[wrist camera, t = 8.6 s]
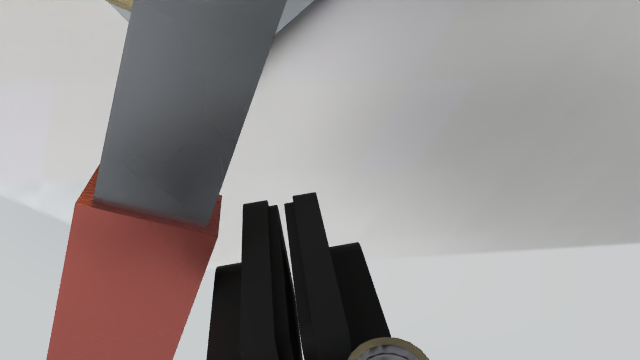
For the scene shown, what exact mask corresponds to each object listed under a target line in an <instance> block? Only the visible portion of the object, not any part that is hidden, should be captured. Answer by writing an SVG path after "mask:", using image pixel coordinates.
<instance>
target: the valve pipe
mask: <svg viewBox="0 0 640 360" xmlns="http://www.w3.org/2000/svg"><path fill="white" fill-rule="evenodd" d="M106 1H108V2H110V3H111V4H113V5H115V6H117V7H119V8H122V9H124V10H127V11H129V12H131V10H132V5H133V0H106Z"/></svg>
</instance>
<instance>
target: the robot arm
mask: <svg viewBox="0 0 640 360" xmlns="http://www.w3.org/2000/svg"><path fill="white" fill-rule="evenodd" d="M284 206H285V214H286V222H287V231H288V239H289V248H290V256H291V264H292V273H293V281H294V288H293V282H292V277H291V272H290V267H289V262H288V257H287V251H286V246H285V241H284V236H283V231H282V226H281V220H280V215H279V210H278V206H277V205H274V206H269V205H268V201H267V200H266V201H260V202H254V203H248V204H244V205H243V226H242V263H236V264H230V265H225V266H219V267H217V268H216V272H215V281H214V290H213V301H212V311H211V320H210V321H211V322H210V330H209V340H208V350H207V360H303V358H302V350H301V343H302V349H303V355H304V359H305V360H429V359H428V358H427V357H426V355H425V354H424V353H423V352H422V351H421V350H420V349H419V348H417V347H416V346H414V345H413V344H411V343H410V342H407V341H404V340H402V339H398V338H391V335H390V332H389V329H388V326H387V323H386V320H385V317H384V314H383V311H382V308H381V305H380V303H379V299H378V297H377V294H376V291H375V288H374V285H373V282H372V279H371V276H370V273H369V270H368V267H367V264H366V261H365V258H364V255H363V252H362V249H361V247H360V244H359V243H358V242H356V243H351V244H345V245H339V246H334V247H329V245H328V241H327V237H326V233H325V229H324V225H323V220H322V216H321V212H320V208H319V204H318V200H317V195H316V192H314V193H308V194H302V195H296V196H293V202H292V203H286V204H284ZM294 289H295V293H294ZM295 298H296V300H295ZM296 306H297V307H296ZM297 315H298V316H297ZM298 323H299V324H298ZM299 331H300V333H299ZM300 337H301V342H300Z"/></svg>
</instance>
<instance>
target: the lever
mask: <svg viewBox="0 0 640 360" xmlns="http://www.w3.org/2000/svg"><path fill="white" fill-rule="evenodd" d="M286 2H287V0H133V5H132V10H131V15H130V20H129V25H128V29H127V34H126V39H125V44H124V49H123V54H122V59H121V64H120V69H119V74H118V78H117V83H116V88H115V93H114V98H113V103H112V108H111V113H110V118H109V123H108V127H107V132H106V137H105V142H104V147H103V152H102V157H101V162H100V164H99V166H98V168H97V169H96V171H95V173H94V174H93V176H92V177H91V179H90V181H89V182H88V184H87V186H86V187H85V189H84V190H83V192H82V194H81V195H80V197H79V198H78V200H77V202H76V203H75V208H74V213H73V219H72V224H71V230H70V235H69V240H68V246H67V252H66V257H65V262H64V268H63V273H62V278H61V284H60V289H59V295H58V300H57V306H56V311H55V316H54V323H53V327H52V333H51V338H50V344H49V349H48V354H47V360H173V357H174V354H175V351H176V349H177V346H178V343H179V340H180V337H181V335H182V332H183V330H184V327H185V324H186V322H187V319H188V316H189V314H190V311H191V308H192V305H193V303H194V300H195V297H196V294H197V292H198V289H199V286H200V283H201V281H202V278H203V276H204V273H205V270H206V267H207V265H208V262H209V259H210V257H211V254H212V251H213V249H214V246H215V243H216V240H217V238H218V230H219V220H220V210H221V200H222V195H219V192H220V189H221V187H222V184H223V181H224V178H225V175H226V172H227V170H228V167H229V164H230V161H231V158H232V155H233V153H234V150H235V147H236V144H237V141H238V138H239V135H240V133H241V130H242V127H243V124H244V121H245V118H246V116H247V113H248V110H249V107H250V104H251V101H252V99H253V96H254V93H255V90H256V87H257V84H258V81H259V79H260V76H261V73H262V70H263V67H264V64H265V62H266V59H267V56H268V53H269V50H270V47H271V45H272V42H273V39H274V36H275V33H276V30H277V27H278V25H279V22H280V19H281V16H282V13H283V10H284V8H285V5H286Z"/></svg>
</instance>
